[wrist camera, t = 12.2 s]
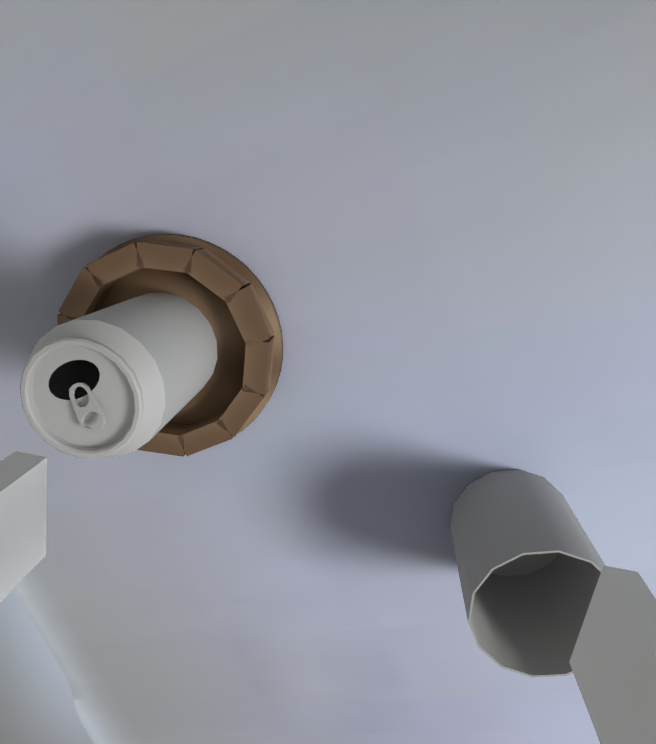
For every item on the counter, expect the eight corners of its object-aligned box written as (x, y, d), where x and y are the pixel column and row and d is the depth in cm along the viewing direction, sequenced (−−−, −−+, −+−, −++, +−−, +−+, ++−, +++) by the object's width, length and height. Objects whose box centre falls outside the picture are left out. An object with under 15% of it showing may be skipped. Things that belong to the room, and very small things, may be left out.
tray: (72, 221, 39) (47, 223, 36) (292, 248, 38) (284, 251, 35) (76, 428, 43) (54, 444, 40) (273, 456, 42) (265, 475, 39)
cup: (455, 575, 43) (474, 679, 34) (444, 476, 41) (461, 557, 32) (572, 567, 42) (626, 673, 33) (567, 464, 40) (623, 545, 31)
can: (186, 271, 38) (99, 299, 26) (240, 370, 39) (180, 437, 28) (94, 319, 39) (-26, 366, 28) (150, 413, 41) (58, 493, 30)
